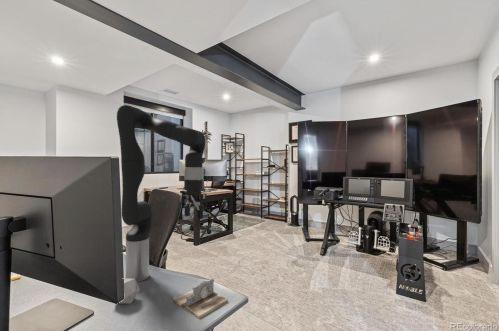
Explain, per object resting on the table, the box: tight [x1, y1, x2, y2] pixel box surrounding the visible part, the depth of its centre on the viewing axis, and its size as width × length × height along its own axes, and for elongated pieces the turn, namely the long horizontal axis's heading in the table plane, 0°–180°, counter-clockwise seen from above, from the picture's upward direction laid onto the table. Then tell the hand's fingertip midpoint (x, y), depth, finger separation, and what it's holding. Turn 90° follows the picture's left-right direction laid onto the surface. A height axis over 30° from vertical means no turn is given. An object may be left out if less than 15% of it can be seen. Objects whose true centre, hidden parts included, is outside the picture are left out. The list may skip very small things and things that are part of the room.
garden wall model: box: [186, 278, 215, 306], centre depth 87 cm, size 12×2×6 cm, turn 140°
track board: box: [173, 288, 229, 319], centre depth 87 cm, size 15×13×1 cm
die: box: [118, 278, 141, 305], centre depth 87 cm, size 8×9×10 cm
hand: (193, 217), depth 99 cm, fingers open, 8 cm apart
